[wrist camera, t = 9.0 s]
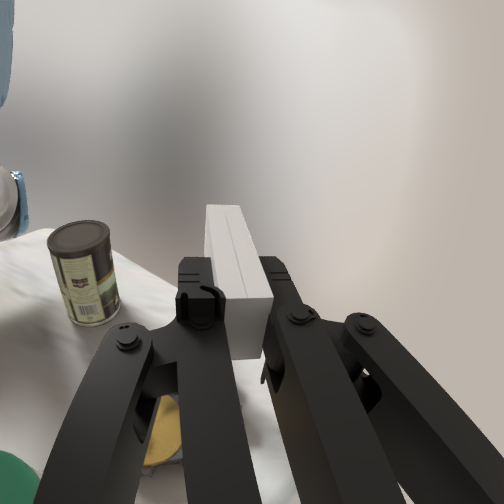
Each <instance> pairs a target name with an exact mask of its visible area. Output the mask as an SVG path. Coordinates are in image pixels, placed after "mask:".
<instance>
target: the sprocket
mask: <svg viewBox="0 0 504 504" xmlns="http://www.w3.org/2000/svg"><path fill="white" fill-rule="evenodd" d="M240 407H241V411H242V406H241V405H240ZM182 461H183V455H182V443H181V431H180V416H179V398H178V392H175V393H171V394H168V395H165V396H162V398H161V401H160V405H159V408H158V412H157V415H156V419H155V423H154V426H153V430H152V434H151V437H150V441H149V445H148V449H147V453H146V456H145V460H144V464H143V468H142V472H141V474H142V475H146V476H149V477H152V473H153V469H154V466H155V465H159V464H172V463H178V462H182Z"/></svg>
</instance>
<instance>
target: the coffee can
mask: <svg viewBox="0 0 504 504" xmlns="http://www.w3.org/2000/svg"><path fill="white" fill-rule="evenodd" d="M47 246H48V249H49V251H50V255H51V259H52V263H53V266H54V270H55V274H56V277H57V281H58V284H59V287H60V291H61V294H62V297H63V300H64V303H65V306H66V309H67V313H68V316H69V318H70V319H71V320H72V321H73V322H74V323H76V324H78V325H80V326H84V327H93V326H99V325H102V324H104V323H107V322H108V321H110V320H111V319H113V318H114V317H115V316H116V315H117V313H118V312H119V310H120V306H121V301H120V298H119V294H118V288H117V283H116V278H115V272H114V265H113V258H112V252H111V244H110V230H109V227H108V226H107V225H106V224H104V223H102V222H100V221H94V220H84V221H83V220H82V221H76V222H72V223H69V224H66V225H63V226H61V227H59V228H58V229H56V230H55V231H54V232H52V233H51V234H50V236H49V237H48V239H47Z"/></svg>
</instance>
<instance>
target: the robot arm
mask: <svg viewBox="0 0 504 504" xmlns="http://www.w3.org/2000/svg"><path fill="white" fill-rule="evenodd" d="M13 24H14V0H0V108H1V107H2V106H3V104H4V102H5V99H6V97H7V93H8V88H9V82H10V74H11V63H12V49H13V32H12V28H13ZM28 227H29V218H28V206H27V197H26V190H25V183H24V178H23V175H22V173H21V172H10V173H9V172H8V171H7V170H6V169H4V168H2V167H1V166H0V242H1V241H4V240H7V239H10V238H16V237H17V236H19V235H21V234H23V233H25V232H26V231H27V230H28ZM204 248H205V249H204V257H184V258H183V260H182V261H181V262H180V264H179V270H178V292H177V295H176V298H175V301H176V317H175V319H174V320H173V321H172V322H171V323H170V324H168V325H166V326H164V327H162V328H159V329H155V330H151V331H148V330H147V329H146V328H145V327H144V326H142V325H139V324H137V323H122V324H118V325H116V326H114V327H113V328H111V329H110V330H109V331H108V332H107V334H106V335H105V337H104V338H103V340H102V342H101V344H100V346H99V348H98V350H97V352H96V354H95V356H94V358H93V360H92V362H91V364H90V366H89V368H88V370H87V372H86V374H85V376H84V378H83V380H82V382H81V384H80V386H79V388H78V390H77V392H76V394H75V397H74V399H73V401H72V403H71V405H70V408H69V410H68V412H67V414H66V417H65V419H64V421H63V424H62V426H61V428H60V431H59V433H58V435H57V438H56V440H55V443H54V445H53V448H52V450H51V453H50V456H49V458H48V461H47V463H46V466H45V469H44V472H43V474H42V477H41V480H40V483H39V486H38V489H37V492H36V495H35V498H34V501H33V504H134V502H135V497H136V493H137V489H138V485H139V481H140V476H141V472H142V468H143V464H144V460H145V456H146V453H147V449H148V445H149V441H150V437H151V434H152V430H153V426H154V423H155V419H156V415H157V412H158V408H159V405H160V401H161V398H162V396H165V395H168V394H171V393H175V392H178V398H179V416H180V431H181V443H182V455H183V465H184V474H185V483H186V491H187V499H188V504H262V501H261V497H260V493H259V489H258V485H257V481H256V476H255V472H254V468H253V463H252V459H251V454H250V450H249V445H248V441H247V436H246V432H245V427H244V422H243V417H242V412H241V407H240V402H239V397H238V392H237V387H236V382H235V377H234V372H233V366H232V361H231V360H244V359H259V358H261V353H262V349H263V351H264V355H265V358H266V359H265V363H264V367H263V371H262V375H261V384H264V381H265V378H266V381H267V385H268V388H269V392H270V396H271V399H272V403H273V407H274V410H275V414H276V417H277V421H278V425H279V428H280V432H281V435H282V439H283V443H284V446H285V450H286V453H287V457H288V460H289V464H290V467H291V471H292V474H293V478H294V481H295V484H296V488H297V491H298V495H299V498H300V501H301V504H406V501H405V499H404V496H403V494H402V492H401V489H400V487H399V485H398V483H399V484H400V485H401V487H402V488H403V489H404V491H405V492H406V493H407V494H408V496H409V497H410V498H411V500H412V501H413V502H414V504H504V458H503V457H502V455H501V454H500V453H499V452H498V451H497V449H496V448H495V447H494V446H493V445H492V444H491V442H490V441H489V440H488V439H487V438H486V437H485V435H484V434H483V433H482V432H481V431H480V429H478V427H477V426H476V425H475V424H474V422H473V421H472V420H471V419H470V418H469V417H468V416H467V415H466V414H465V412H464V411H463V410H462V409H461V408H460V407H459V406H458V404H457V403H456V402H455V401H454V400H453V399H452V398H451V397H450V396H449V394H448V393H447V392H445V390H444V389H443V388H442V387H441V386H440V385H439V384H438V383H437V381H436V380H435V379H434V378H433V377H432V376H431V375H430V374H429V373H428V372H427V371H426V370H425V368H424V367H423V366H422V365H421V364H420V363H419V362H418V361H417V360H416V359H415V358H414V357H413V356H412V355H411V354H410V353H409V352H408V351H407V350H406V349H405V347H403V345H401V343H400V342H399V341H398V340H397V339H396V338H395V337H394V336H393V335H392V334H391V333H390V332H389V331H388V330H387V329H386V328H385V327H384V326H383V325H382V324H381V323H380V322H379V321H378V320H377V319H375V318H374V317H372V316H370V315H368V314H365V313H353V314H350V315H349V316H347V318H346V320H345V322H344V323H340V322H334V321H327V320H324V319H321V318H320V316H319V315H318V313H317V312H316V311H315V310H314V309H313V308H311V307H310V306H308V305H305V304H303V302H302V300H301V298H300V296H299V294H298V292H297V289H296V287H295V285H294V283H293V281H291V277H290V275H289V274H288V271H287V269H286V267H285V265H284V263H282V262H281V261H280V260H279V259H278V258H276V257H275V256H264V257H263V256H258V254H257V252H256V249H255V246H254V244H253V241H252V238H251V236H250V233H249V230H248V228H247V225H246V222H245V220H244V217H243V215H242V212H241V209H240V207H239V205H207V209H206V229H205V247H204ZM364 368H365V369H366V370H367V371H368V373H369V375H366V374H365V373H364V372H363V370H364Z"/></svg>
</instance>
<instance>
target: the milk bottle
mask: <svg viewBox="0 0 504 504" xmlns="http://www.w3.org/2000/svg"><path fill="white" fill-rule="evenodd" d="M43 472H44V471H38V472H37V471H35V470H34V469H33V468H32V467H30V466H28V465H27V464H26V463H25V462H24V461H22V460H21V459H19V458H18V457H16V456H15V455H13V454H11V453H8V452H5V451H0V504H33V501H34V498H35V495H36V492H37V489H38V486H39V483H40V480H41V477H42V474H43Z"/></svg>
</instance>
